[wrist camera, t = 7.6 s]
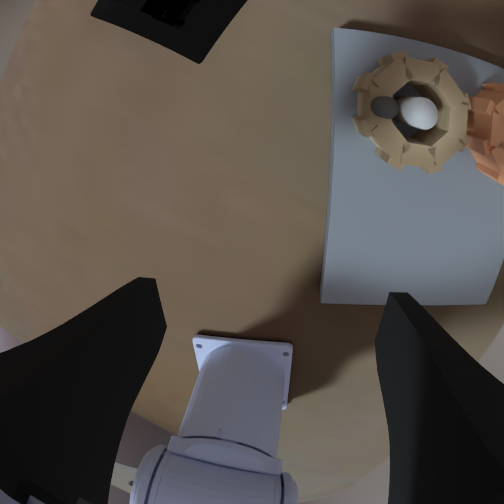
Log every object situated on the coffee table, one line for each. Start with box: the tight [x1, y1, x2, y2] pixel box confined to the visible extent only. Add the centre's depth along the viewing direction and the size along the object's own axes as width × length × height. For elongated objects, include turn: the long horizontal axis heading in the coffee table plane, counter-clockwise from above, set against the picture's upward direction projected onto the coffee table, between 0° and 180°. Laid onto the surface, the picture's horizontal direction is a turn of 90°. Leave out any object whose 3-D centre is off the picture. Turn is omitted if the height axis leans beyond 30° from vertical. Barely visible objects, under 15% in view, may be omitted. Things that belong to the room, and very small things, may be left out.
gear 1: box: [351, 51, 471, 174], centre depth 11 cm, size 6×6×4 cm
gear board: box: [320, 28, 504, 305], centre depth 14 cm, size 16×13×4 cm
